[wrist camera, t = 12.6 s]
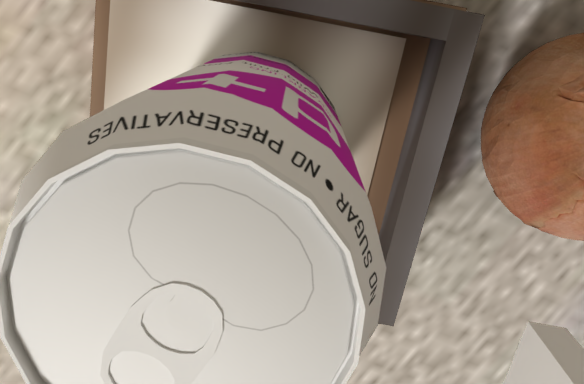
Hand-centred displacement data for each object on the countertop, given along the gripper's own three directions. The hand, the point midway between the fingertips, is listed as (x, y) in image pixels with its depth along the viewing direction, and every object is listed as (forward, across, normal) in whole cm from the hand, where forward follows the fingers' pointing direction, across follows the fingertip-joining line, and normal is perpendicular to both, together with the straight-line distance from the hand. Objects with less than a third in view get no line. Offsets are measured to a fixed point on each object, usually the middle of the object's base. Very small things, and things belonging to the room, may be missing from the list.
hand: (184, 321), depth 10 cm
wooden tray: (+19, 0, 0) cm, 19 cm away
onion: (+19, -15, -3) cm, 25 cm away
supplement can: (+15, 0, 0) cm, 15 cm away
